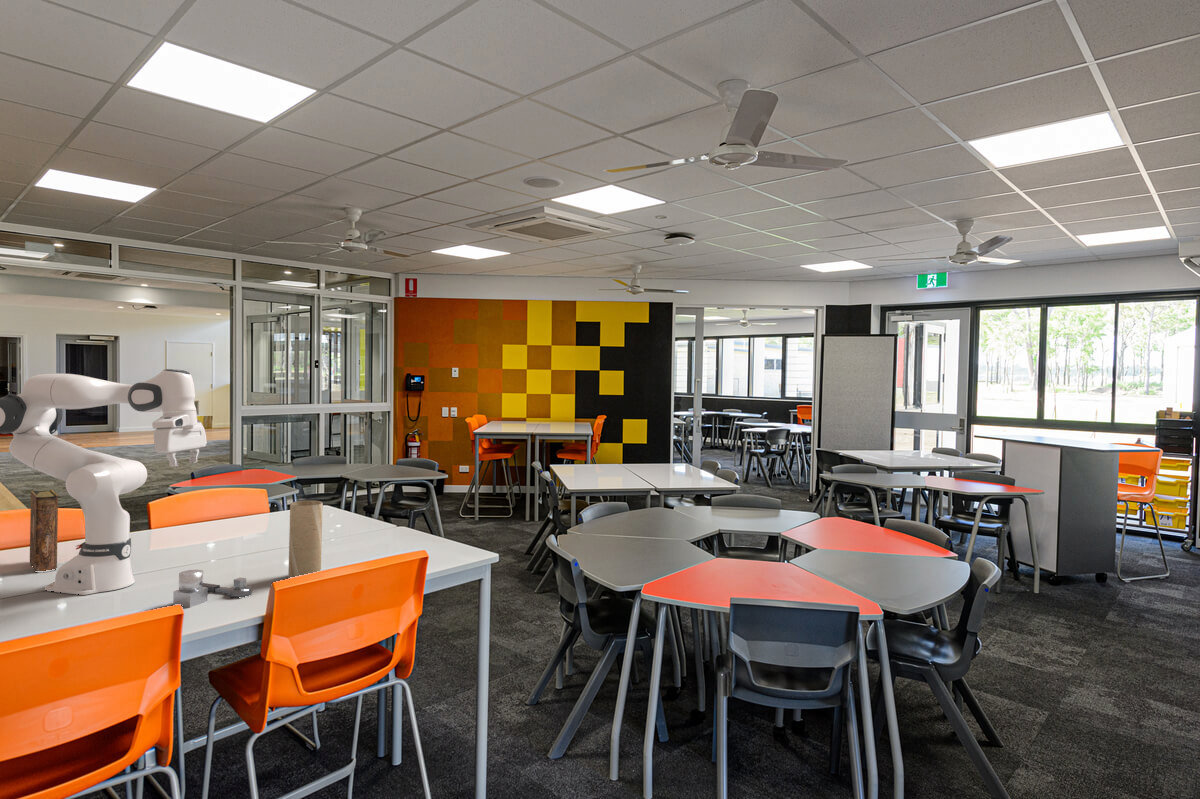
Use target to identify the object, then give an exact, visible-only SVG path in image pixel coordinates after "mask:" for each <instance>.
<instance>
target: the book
mask: <svg viewBox="0 0 1200 799" xmlns="http://www.w3.org/2000/svg"><path fill="white" fill-rule="evenodd" d="M58 517H59V494H57V493H56V492H55V491H54V490H53V489H50V490H42V491H33V490H31V491H30V520H29V524H30V525H29V526H30V527H29V530H30V531H29V564H30V563H31V564H32V566H33V568H34V570H35V571H46V570H52V569H56V568H57V569H58V530H59V528H58V527H59V526H58V524H59V523H58V522H59V521H58V520H59V518H58ZM31 564H30V565H31ZM32 566H31V567H32ZM33 568H32V569H33ZM34 570H33V571H34ZM35 571H34V572H35Z"/></svg>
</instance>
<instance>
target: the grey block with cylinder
mask: <svg viewBox="0 0 1200 799" xmlns="http://www.w3.org/2000/svg"><path fill="white" fill-rule="evenodd" d="M203 583H204V570H202V569H188V570H184V571H181V572H179V573H178V589H177V590H173V592H172V594H173V598H172V599H173V601H172V603H173V604H181V605H183V606H184V608H192V606H193V607H194V606H198V605H200V604H203V603H206V602H207V601H208V593H209V592H208V587H203ZM205 601H206V602H205ZM173 604H172V605H173ZM183 606H182V607H183Z"/></svg>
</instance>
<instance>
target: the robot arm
mask: <svg viewBox="0 0 1200 799" xmlns="http://www.w3.org/2000/svg"><path fill="white" fill-rule="evenodd" d="M195 399H196V389H195V384H194V379H193V376H192V374H191V372H189V371H187V370H183V369H170V368H166V369H163V370H161V371H160V373H158V374H157V375H155V376H154V377H152V378H149V379H146V380H143V381H140V382H136V383H133V384H132V383H131V384H130V383H129V384H128V383H120V382H116V381H110V380H104V379H102V378H101V379H100V378H95V377H91V376H88V375H87V376H86V375H81V374H74V373H62V372H61V373H43V374H41V373H40V374H36V375H33V376H31V377H29V378H28V379H26V381H25V382H24V384H23V387H22V391H21V393H19V394H14V393H9V394H6V395H5V396H2V397H0V434H2V435H3V434H4V435H7V434H8V435H9V434H12V435H13V438H12V439H11V441H10V443H9V447H8V451H9V453H10V455H11V456H13V458H15V459H16V460H18V461H19V462H21V463H22V464H24V465H26V466H27V467H30V468H31V469H33V470H36V471H38V472H41V473H43V474H45V475H47V476H50V477H53V478H55V479H57V480H59V481H63V482H65V490H66V492H67V493H68V495H69V496H70V497H71V498H73V499H75V500H76V502H77V503H78V504H79V506H80V508H81V511H82V513H83V516H84V536H85V537H84V542H81V544H80V543H79V544H77V545H75V547H76V548H75V550H79V549H80V550H79V551H78V554H77V555H75V557H73V558H72V559H70V560H68V561H67V562H66V563H64V564H63V565H62V566H60V567H59V568H57V571H56V574H55V580H54V582H51V583H49V584H47V585H46V586H45V588H44V591H45V590H47V591H46V592H51V591H54V592H53V593H60V592H61V594H69V595H78V594H79V595H80V596H87V595H92V594H96V593H104V592H108V591H109V592H111V591H115V590H116V591H117V590H119V589H123V588H127V587H129V586H132V585H133V584H134V583H136V580H135V577H134V574H133V570H132V566H131V565H132V564H131V554H132V553H131V552H132V538H131V537H130V531H131V530H130V529H131V528H130V527H131V525H130V524H131V523H130V522H131V518H130V517H131V516H130V513H129V512H128V511H127V510H126V509H124V508H123V507H122V505H121V501H120V499H119V498H120V496H119V495H124V494H128V493H131V492H133V491H135V490H136V489H139V488H140V487H142V486H143V485H144V484H145V483H146V481H147V479H148V470H147V468H146V466H145V465H144V464H143V463H142V462H140V461H138V460H133V459H128V458H123V457H119V456H115V455H113V454H112V455H111V454H107V453H104V452H99V451H95V450H92V449H88V448H84V447H82V446H79V445H77V444H74V443H72V442H70V441H67V440H64V439H62V438H59V437H57V436H56V435H53V434H54V433H56V432H57V431H58V428H59V426H60V424H61V421H62V420H63V413H64V412H63V410H83V409H91V408H96V407H102V406H104V407H105V406H110V405H118V404H129V406H130V407H131V408H132V409H133V410H135V411H138V412H140V413H158V412H159V413H160V412H162V416H160V417H159V418H157V419H155V420H154V421H152V423H151V424H152V429H154V432H153V442H154V449H155V451H156V453H157V454H165V457H166V458H167V461H169V463H168V464H169V467H170V468H175V467H179V460H177V458H176V454H177V452H180V451H187V450H189V453H190V456H189V457H188V462H189V464H195V463H198V456H199V453H200V448H205V447H207V444H208V442H207V435H206V434H207V433H206V430H205V427H204V426H203V423H202V422H201V421H200V420H199V419H198V413H197V407H196V405H195Z"/></svg>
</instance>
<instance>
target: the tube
mask: <svg viewBox="0 0 1200 799" xmlns="http://www.w3.org/2000/svg"><path fill="white" fill-rule="evenodd" d="M323 504H324V503H323V501H320V500H309V499H308V500H299V501H293V502H290V504H289V533H288V534H289V538H288V540H289V542H288V572H287V573H288V574H287V576H288V578H287V579H289V578H290V577H295V576H299V575H304V574H308V573H313V572H317V571H320V570H321V571H322V548H323V547H322V544H323V543H322V542H323V512H324V511H323Z"/></svg>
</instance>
